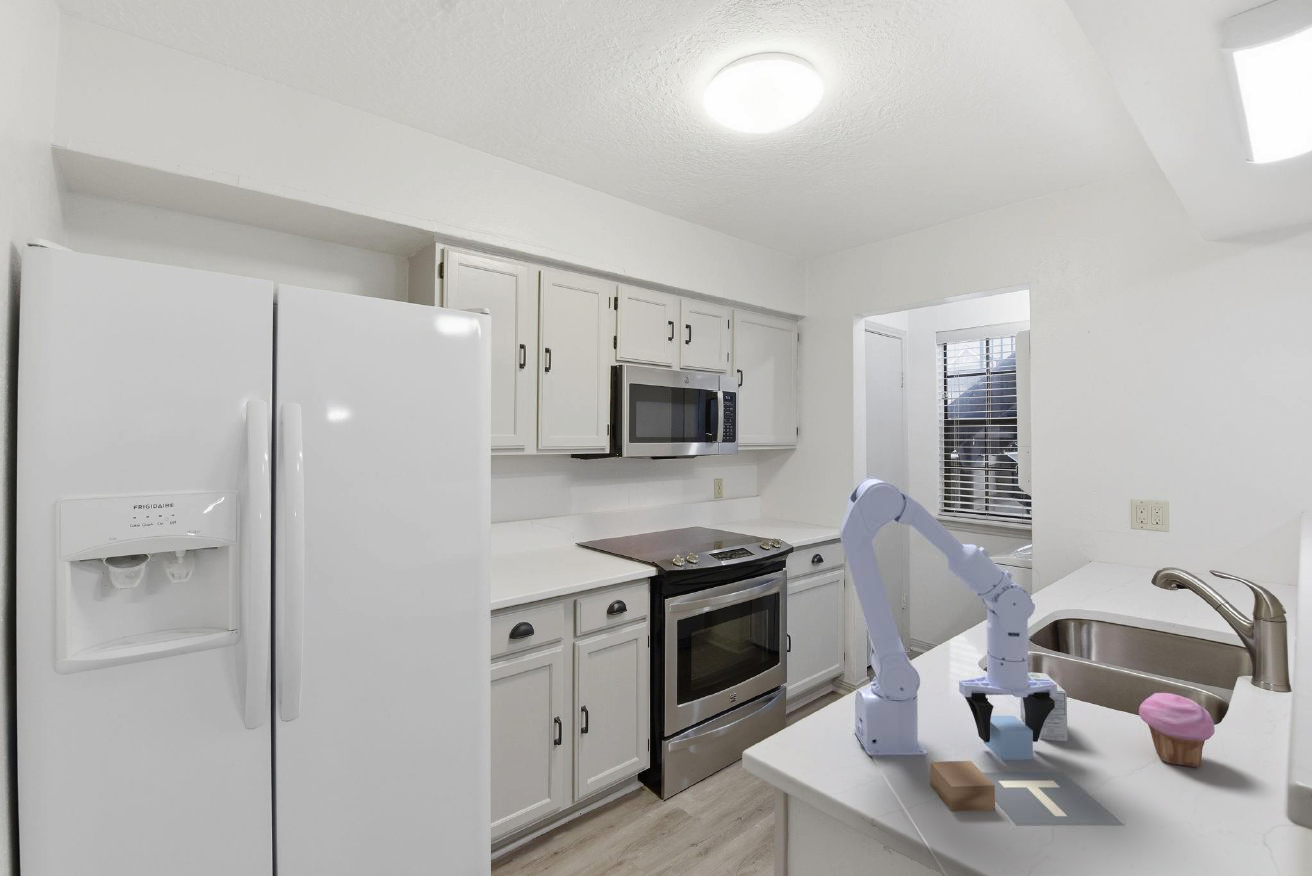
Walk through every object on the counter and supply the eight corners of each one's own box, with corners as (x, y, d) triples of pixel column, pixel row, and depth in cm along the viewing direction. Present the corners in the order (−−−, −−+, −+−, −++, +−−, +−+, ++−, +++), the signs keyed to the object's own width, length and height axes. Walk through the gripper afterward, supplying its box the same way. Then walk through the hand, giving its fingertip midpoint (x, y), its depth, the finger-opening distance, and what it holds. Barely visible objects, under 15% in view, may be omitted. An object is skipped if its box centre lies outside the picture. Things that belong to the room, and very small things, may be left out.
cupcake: (1151, 768, 92) (1151, 703, 91) (1130, 740, 100) (1130, 681, 99) (1226, 780, 88) (1226, 713, 88) (1198, 750, 96) (1198, 688, 96)
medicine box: (1068, 744, 99) (1068, 692, 99) (1038, 741, 100) (1038, 690, 100) (1047, 721, 107) (1047, 672, 106) (1019, 719, 108) (1019, 671, 107)
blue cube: (1000, 762, 94) (1000, 731, 94) (983, 745, 99) (983, 715, 99) (1032, 762, 94) (1032, 730, 94) (1014, 745, 99) (1014, 715, 99)
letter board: (1016, 828, 79) (1016, 825, 79) (970, 775, 91) (970, 772, 91) (1124, 828, 78) (1124, 824, 78) (1063, 774, 90) (1063, 771, 90)
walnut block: (951, 815, 82) (951, 786, 82) (930, 789, 88) (930, 762, 88) (994, 814, 82) (994, 785, 82) (970, 787, 88) (970, 760, 88)
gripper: (974, 665, 92) (975, 752, 92) (1069, 664, 92) (1070, 751, 92) (952, 648, 99) (953, 729, 99) (1041, 647, 99) (1041, 728, 99)
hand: (1008, 739), depth 96 cm, fingers open, 7 cm apart
